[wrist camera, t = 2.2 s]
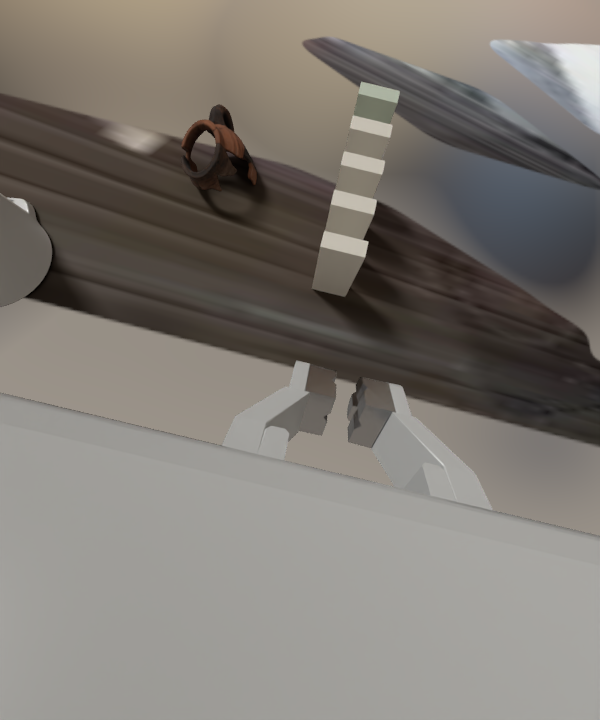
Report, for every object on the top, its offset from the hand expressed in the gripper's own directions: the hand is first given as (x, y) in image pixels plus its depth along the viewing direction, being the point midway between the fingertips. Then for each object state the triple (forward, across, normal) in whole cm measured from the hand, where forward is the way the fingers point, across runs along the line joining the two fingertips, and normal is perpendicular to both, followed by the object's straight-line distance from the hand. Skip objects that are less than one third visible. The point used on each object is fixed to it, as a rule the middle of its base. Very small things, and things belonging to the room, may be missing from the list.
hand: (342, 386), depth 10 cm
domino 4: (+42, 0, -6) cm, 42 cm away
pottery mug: (+41, +20, -5) cm, 46 cm away
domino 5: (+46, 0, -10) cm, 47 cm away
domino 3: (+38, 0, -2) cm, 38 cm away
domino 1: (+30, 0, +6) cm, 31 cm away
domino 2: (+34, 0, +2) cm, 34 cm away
